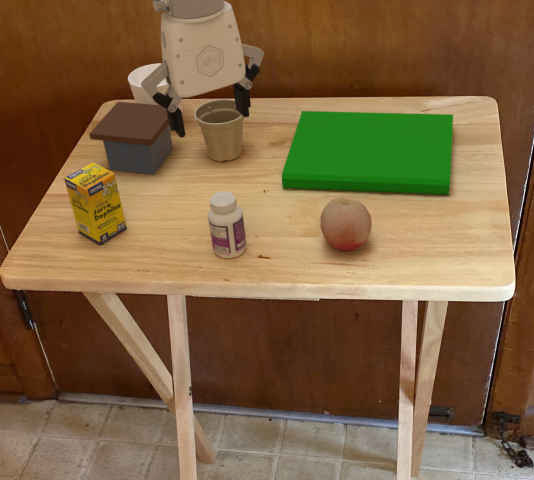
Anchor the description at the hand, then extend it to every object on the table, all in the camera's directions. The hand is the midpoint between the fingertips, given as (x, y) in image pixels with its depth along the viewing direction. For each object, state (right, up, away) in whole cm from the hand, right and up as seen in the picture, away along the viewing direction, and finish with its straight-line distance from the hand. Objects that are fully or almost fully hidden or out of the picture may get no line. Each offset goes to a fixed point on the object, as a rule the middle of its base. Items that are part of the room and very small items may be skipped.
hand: (211, 123), depth 113 cm
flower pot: (0, +4, +38) cm, 38 cm away
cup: (-13, +12, +49) cm, 52 cm away
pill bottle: (+2, -16, +16) cm, 23 cm away
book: (+26, +2, +33) cm, 42 cm away
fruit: (+20, -16, +15) cm, 30 cm away
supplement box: (-20, -13, +23) cm, 32 cm away
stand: (-16, +3, +39) cm, 42 cm away
